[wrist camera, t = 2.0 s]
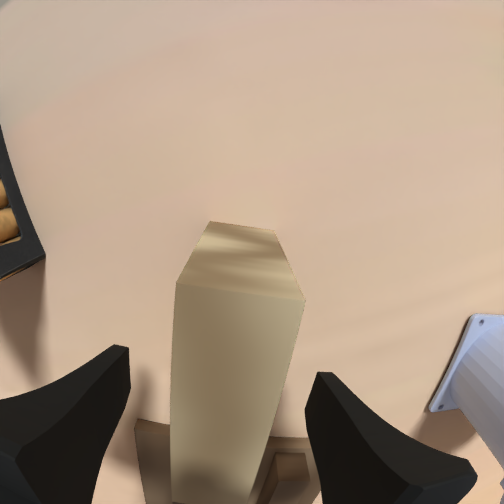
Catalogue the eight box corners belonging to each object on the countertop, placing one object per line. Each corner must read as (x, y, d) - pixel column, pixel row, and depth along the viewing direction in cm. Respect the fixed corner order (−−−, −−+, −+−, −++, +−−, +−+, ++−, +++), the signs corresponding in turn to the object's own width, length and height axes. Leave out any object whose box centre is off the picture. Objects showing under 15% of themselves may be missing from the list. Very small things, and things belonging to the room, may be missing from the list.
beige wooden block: (274, 230, 15) (306, 300, 7) (243, 396, 18) (244, 509, 10) (209, 220, 15) (175, 282, 7) (192, 389, 17) (171, 501, 10)
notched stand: (342, 437, 19) (354, 473, 16) (296, 516, 22) (300, 544, 19) (137, 418, 18) (124, 456, 15) (149, 503, 21) (143, 531, 18)
